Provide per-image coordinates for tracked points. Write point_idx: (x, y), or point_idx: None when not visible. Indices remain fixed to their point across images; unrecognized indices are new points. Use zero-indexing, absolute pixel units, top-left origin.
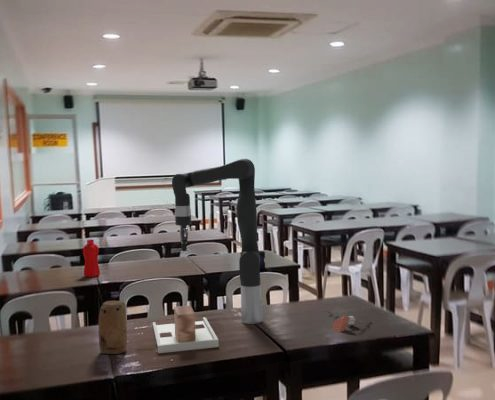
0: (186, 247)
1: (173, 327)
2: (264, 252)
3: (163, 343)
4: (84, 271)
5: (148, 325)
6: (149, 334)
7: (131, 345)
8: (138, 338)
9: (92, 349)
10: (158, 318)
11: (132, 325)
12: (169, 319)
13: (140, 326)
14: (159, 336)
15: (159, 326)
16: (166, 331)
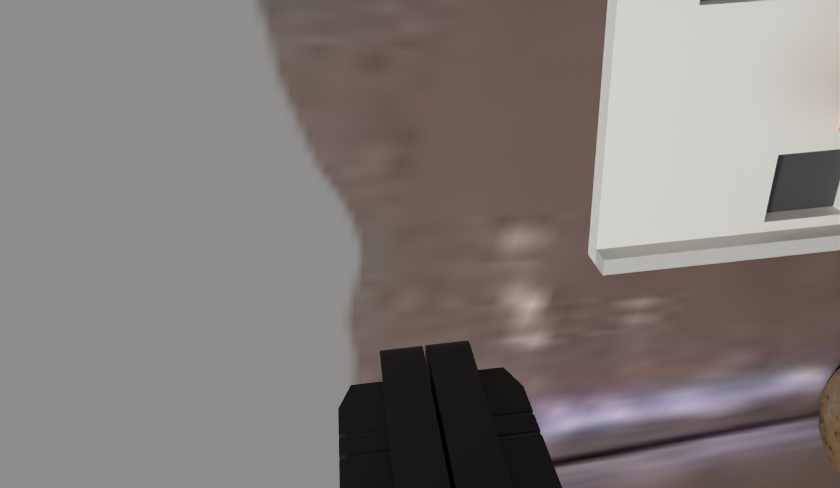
0: (489, 402)
1: (692, 139)
2: None
3: None
4: None
5: (506, 281)
6: None
7: (813, 335)
8: (723, 314)
9: (774, 470)
10: (365, 230)
11: None
12: (410, 157)
13: (511, 322)
14: (820, 219)
15: (630, 225)
16: (752, 182)
